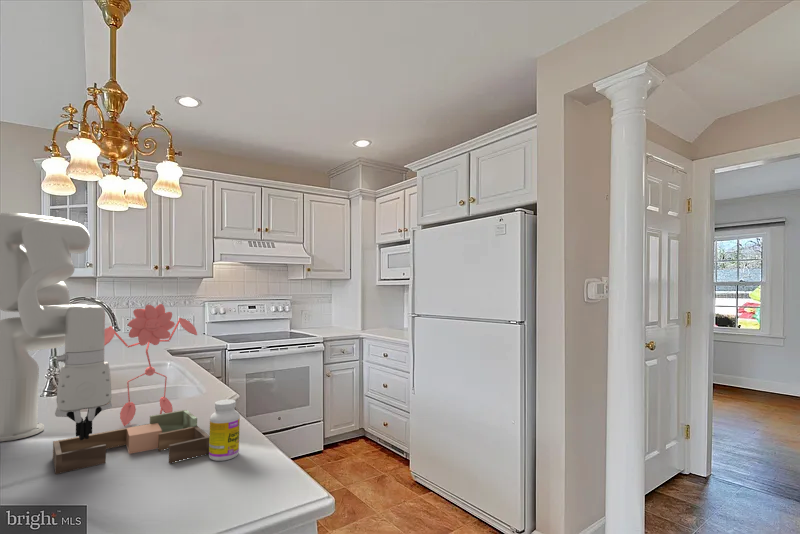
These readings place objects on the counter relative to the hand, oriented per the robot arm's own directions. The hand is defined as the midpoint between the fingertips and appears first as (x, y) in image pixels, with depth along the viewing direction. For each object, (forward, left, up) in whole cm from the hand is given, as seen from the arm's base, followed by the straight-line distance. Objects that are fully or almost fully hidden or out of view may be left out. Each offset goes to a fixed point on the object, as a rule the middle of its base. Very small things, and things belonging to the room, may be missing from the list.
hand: (83, 437), depth 101 cm
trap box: (+4, +9, -5) cm, 11 cm away
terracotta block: (-1, +13, -6) cm, 14 cm away
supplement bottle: (+18, +26, -6) cm, 32 cm away
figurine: (-21, +18, -6) cm, 28 cm away
